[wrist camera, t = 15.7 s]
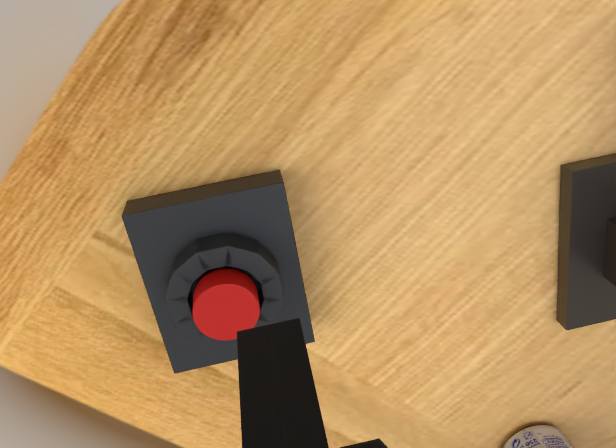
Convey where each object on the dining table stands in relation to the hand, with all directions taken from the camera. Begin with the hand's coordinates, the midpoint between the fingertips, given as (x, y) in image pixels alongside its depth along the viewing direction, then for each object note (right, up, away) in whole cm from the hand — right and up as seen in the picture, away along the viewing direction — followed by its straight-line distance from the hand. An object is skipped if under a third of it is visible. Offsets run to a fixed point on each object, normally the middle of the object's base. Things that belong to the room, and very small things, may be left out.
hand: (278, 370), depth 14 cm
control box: (-4, +1, +22) cm, 22 cm away
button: (-4, -1, +19) cm, 19 cm away
